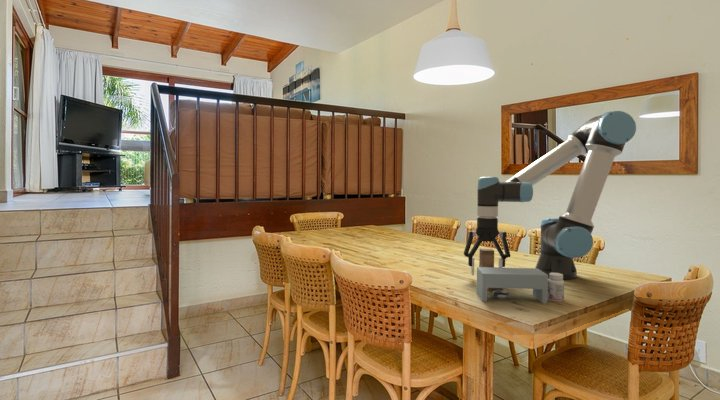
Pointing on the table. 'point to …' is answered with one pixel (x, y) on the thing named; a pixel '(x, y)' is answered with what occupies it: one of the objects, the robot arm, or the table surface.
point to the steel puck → (500, 294)
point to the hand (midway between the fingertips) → (486, 274)
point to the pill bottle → (556, 287)
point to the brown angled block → (487, 261)
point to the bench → (512, 280)
